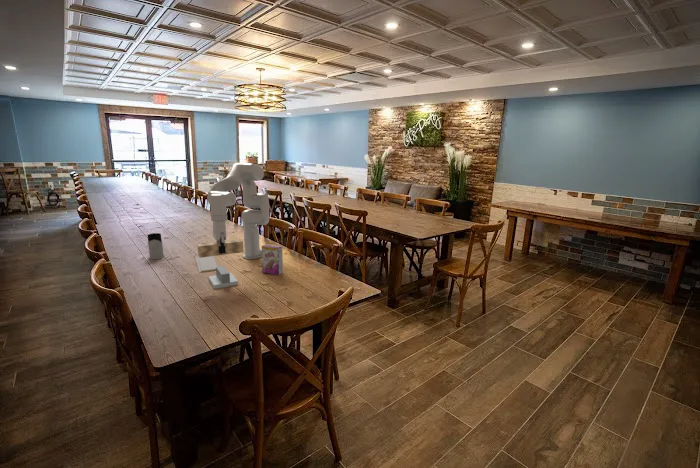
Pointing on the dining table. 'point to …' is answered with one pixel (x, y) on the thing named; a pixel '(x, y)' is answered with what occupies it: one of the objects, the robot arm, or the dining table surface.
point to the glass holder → (155, 246)
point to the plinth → (219, 285)
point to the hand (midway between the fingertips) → (221, 251)
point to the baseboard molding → (206, 263)
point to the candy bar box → (272, 259)
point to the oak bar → (213, 248)
